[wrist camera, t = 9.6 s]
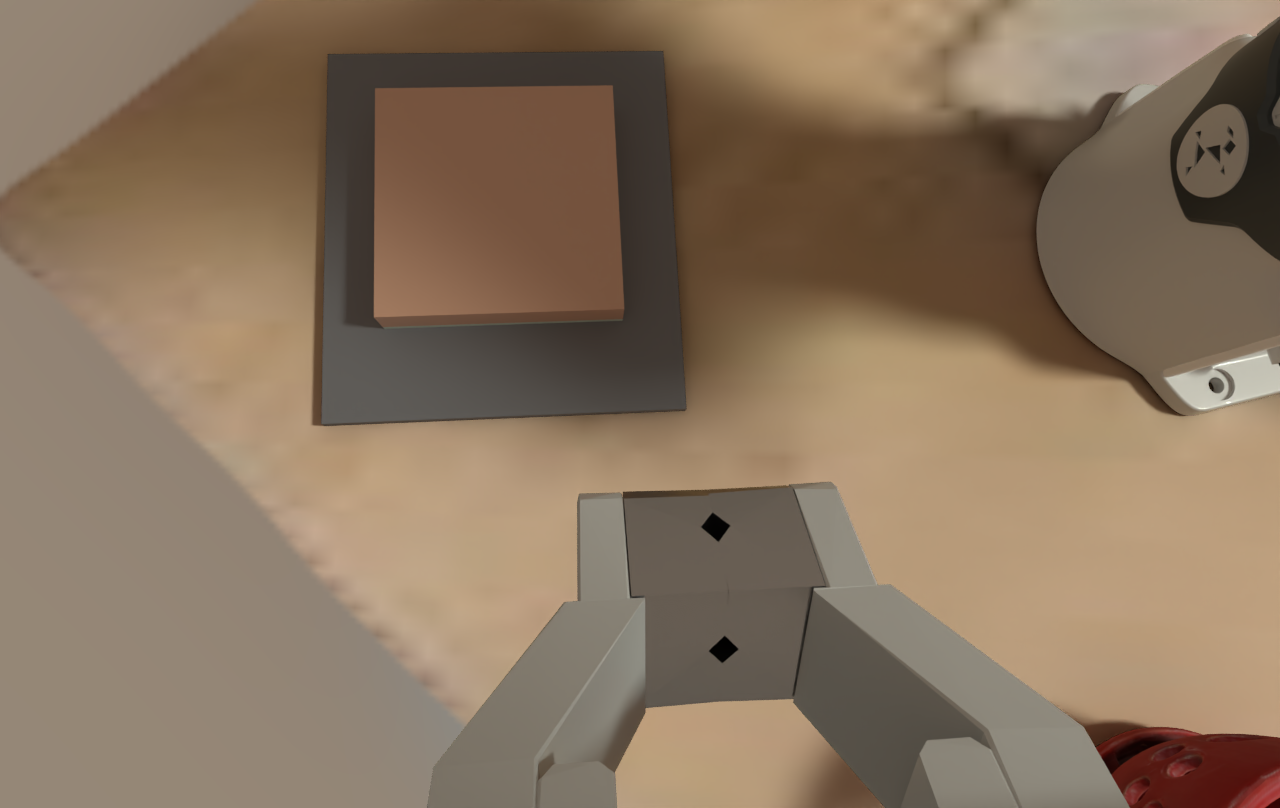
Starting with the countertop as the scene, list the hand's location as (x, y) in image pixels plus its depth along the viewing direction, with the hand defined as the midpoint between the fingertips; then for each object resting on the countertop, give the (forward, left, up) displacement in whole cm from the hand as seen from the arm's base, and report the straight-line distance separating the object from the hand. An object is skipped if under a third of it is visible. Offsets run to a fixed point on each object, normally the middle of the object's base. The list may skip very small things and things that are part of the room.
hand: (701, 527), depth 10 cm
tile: (+5, -11, -29) cm, 31 cm away
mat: (+5, -17, -31) cm, 35 cm away
